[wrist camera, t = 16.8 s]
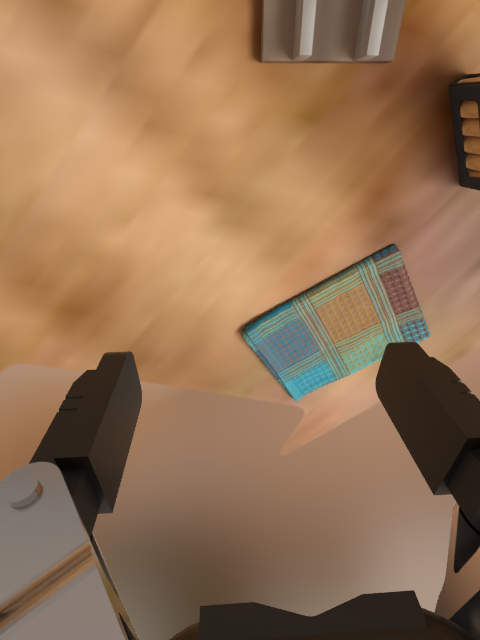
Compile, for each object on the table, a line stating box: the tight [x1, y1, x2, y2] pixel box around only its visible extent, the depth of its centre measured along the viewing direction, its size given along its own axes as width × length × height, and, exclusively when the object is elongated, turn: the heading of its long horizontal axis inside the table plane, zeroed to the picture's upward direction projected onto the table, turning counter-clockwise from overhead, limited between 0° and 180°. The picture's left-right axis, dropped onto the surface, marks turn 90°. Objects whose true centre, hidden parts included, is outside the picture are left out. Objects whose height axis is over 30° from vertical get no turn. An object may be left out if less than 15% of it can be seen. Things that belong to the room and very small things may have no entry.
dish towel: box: [241, 244, 430, 402], centre depth 46 cm, size 17×23×2 cm
